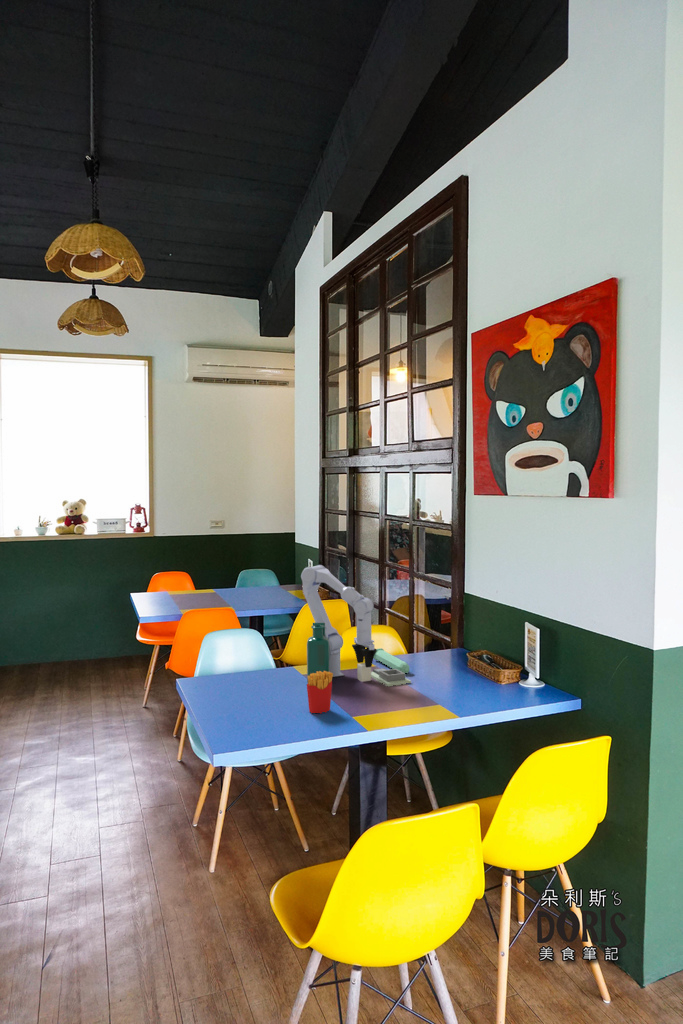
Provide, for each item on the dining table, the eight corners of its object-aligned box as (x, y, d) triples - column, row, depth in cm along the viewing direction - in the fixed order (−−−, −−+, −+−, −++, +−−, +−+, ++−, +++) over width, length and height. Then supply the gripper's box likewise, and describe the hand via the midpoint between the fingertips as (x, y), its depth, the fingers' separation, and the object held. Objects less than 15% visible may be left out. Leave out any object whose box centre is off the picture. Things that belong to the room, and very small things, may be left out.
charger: (361, 681, 264) (361, 666, 263) (357, 679, 267) (357, 663, 267) (371, 680, 265) (371, 665, 265) (366, 677, 269) (366, 662, 269)
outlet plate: (387, 686, 257) (387, 677, 256) (367, 674, 273) (367, 666, 273) (411, 683, 260) (410, 674, 260) (389, 671, 277) (389, 663, 277)
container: (409, 659, 273) (382, 645, 296) (397, 666, 271) (371, 652, 294) (414, 672, 274) (387, 657, 297) (402, 679, 272) (375, 664, 295)
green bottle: (329, 685, 259) (328, 627, 258) (307, 685, 259) (306, 627, 259) (330, 678, 269) (329, 622, 268) (308, 678, 269) (308, 622, 268)
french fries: (311, 715, 225) (311, 676, 224) (305, 711, 228) (304, 673, 228) (335, 710, 230) (335, 671, 229) (328, 706, 233) (328, 669, 233)
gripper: (381, 632, 260) (381, 667, 261) (365, 625, 274) (365, 659, 274) (364, 634, 258) (365, 670, 258) (349, 627, 271) (349, 661, 271)
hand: (364, 664), depth 266 cm, fingers open, 7 cm apart
